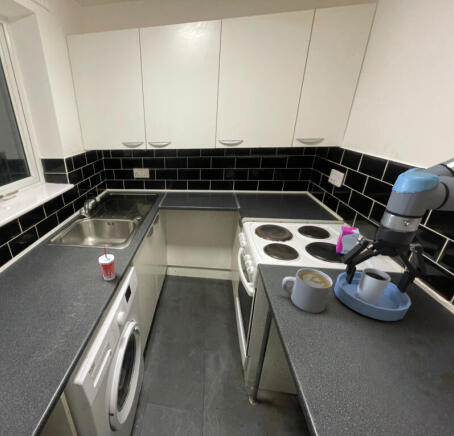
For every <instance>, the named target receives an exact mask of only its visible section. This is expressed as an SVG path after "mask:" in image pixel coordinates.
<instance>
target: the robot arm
mask: <svg viewBox="0 0 454 436" xmlns="http://www.w3.org/2000/svg"><path fill="white" fill-rule="evenodd" d="M391 190H392V191H391V193H390V196H389V199H388V202H387V204H386V208H385V210H384V212H383V215H382V217H381V219H380V224H379V225H378V228H377V231H376V234H375V237H374V238H373V239H368V238H367V237H364V236H362V237H361V238H360V239H359V242H357V243H356V246H355V247H354V248H353V249H351V250H350V251H349V252H348V253H347V254H346V255H343V256H342V257H341V261H342V263H343V265H346V267H345V269H344V272H346V274H347V276H346V281H347V283H348V284H350V285H351V283H352V280H353V277H354V275H355V272H357V266H358V265H360V264H362V263H364V262H366V261H368V260H369V259H372V258H374V257H378V256H381V257H391V258H395V257H397V258H399V259H400V261H401V262H402V264H403V265H404V266H405V267H406V269H407V270H403V272H402V275H401V277H400V279H399V281H398V284H397V285H396V286H397V288H398V289H399V291H400V292H401V293H406V291H407V289H408V287H409V284H410V285H412V284H414V282H415V279H418V278H420V277H421V276H428V271H427V267H426V262H425V259H424V256H423V252H424V249H425V248H424V246H422V244H420V243H419V242H414V243H412V242H413V239H414V237H415V236H416V231H417V230H418V228H419V226H420V223H421V222H422V220H423V218H424V216H425V213H426V212H427V210H431V211H445V212H446V211H449V212H454V157H452V158H449V159H447V160H445V161H442V162H440V163H437V164H435V165H432V166H429V167H427V168H425V167H414V168H413V167H412V168H409V169H408V170H406V171H405V172H402V173H401V174H399V175H398V177H397V179H396V180H395V182H394V185H393V187H392V188H391ZM371 245H372V246H371ZM407 251H411V252H412V253H411V254H412V257H413V260H414V264H415V267H414V266H413V265H412V263H411V262H410V260H409V259H408V257H407V256H406V254H405V253H406V252H407Z"/></svg>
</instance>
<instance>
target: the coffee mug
mask: <svg viewBox="0 0 454 436" xmlns="http://www.w3.org/2000/svg"><path fill="white" fill-rule="evenodd" d="M288 283H292V286H290V287H289V286H287V284H288ZM333 283H334V282H333V280H332V278H331V277H330V276H329V275H328V274H326V273H325V272H323V271H321V270H318V269H314V268H309V267H303V268H300V269H298V270H297V271H296V274H295V276H285V277H284V278H283V279H282V282H281V288H282V289H283V291H285V292H286V293H288V294H289V295H290V299H291V301H292V303H293V304H294V305H295V306H296V307H298V308H299V309H301V310H302V311H305V312H308V313H313V314H314V313H315V314H316V313H322V312H323V311H325V309H326V306H327V303H328V299H329V296H330V293H331V290H332V287H333Z"/></svg>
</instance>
